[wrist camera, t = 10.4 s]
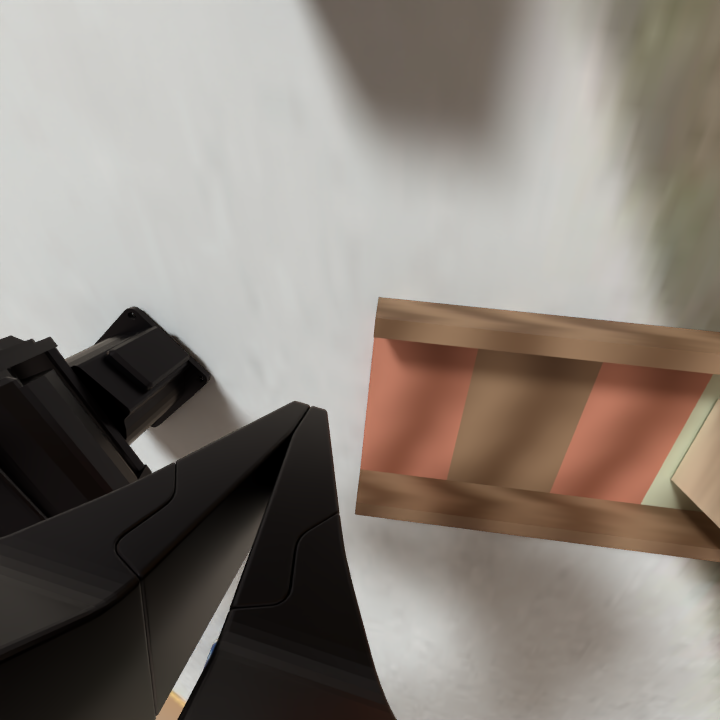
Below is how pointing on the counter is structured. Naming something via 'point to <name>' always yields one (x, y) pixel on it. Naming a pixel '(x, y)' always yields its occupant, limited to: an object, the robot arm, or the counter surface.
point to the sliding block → (703, 468)
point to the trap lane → (537, 426)
